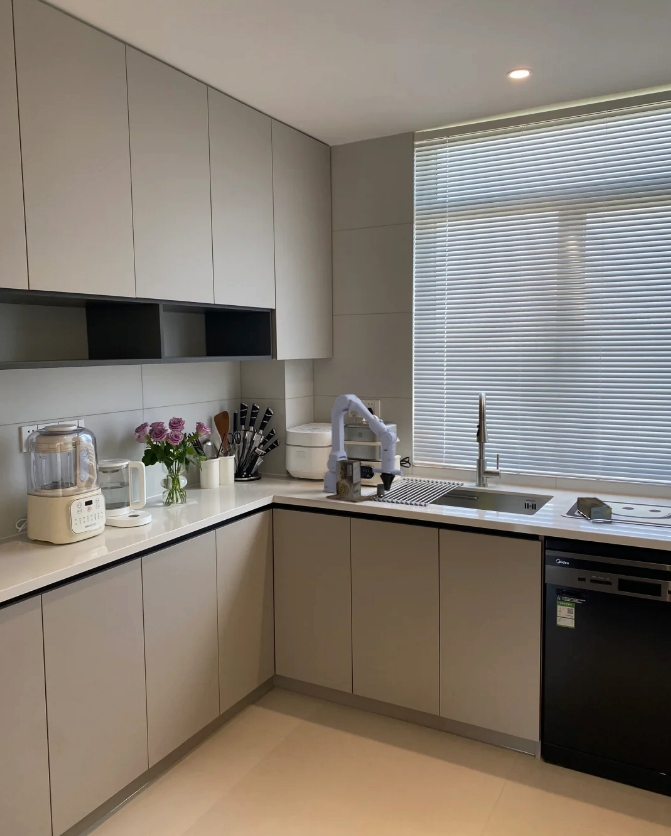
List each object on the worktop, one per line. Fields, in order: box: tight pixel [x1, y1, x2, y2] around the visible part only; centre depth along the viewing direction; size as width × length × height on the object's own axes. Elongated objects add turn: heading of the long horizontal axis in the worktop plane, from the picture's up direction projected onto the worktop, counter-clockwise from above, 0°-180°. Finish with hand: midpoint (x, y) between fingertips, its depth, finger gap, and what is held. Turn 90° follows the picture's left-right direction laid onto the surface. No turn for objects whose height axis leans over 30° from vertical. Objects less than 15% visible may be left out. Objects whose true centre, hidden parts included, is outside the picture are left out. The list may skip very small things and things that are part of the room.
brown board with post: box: [326, 483, 386, 504], centre depth 302 cm, size 16×21×5 cm
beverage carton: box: [576, 496, 613, 521], centre depth 267 cm, size 8×19×7 cm, turn 176°
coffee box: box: [335, 459, 362, 499], centre depth 298 cm, size 9×6×16 cm
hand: (387, 490), depth 302 cm, fingers closed
